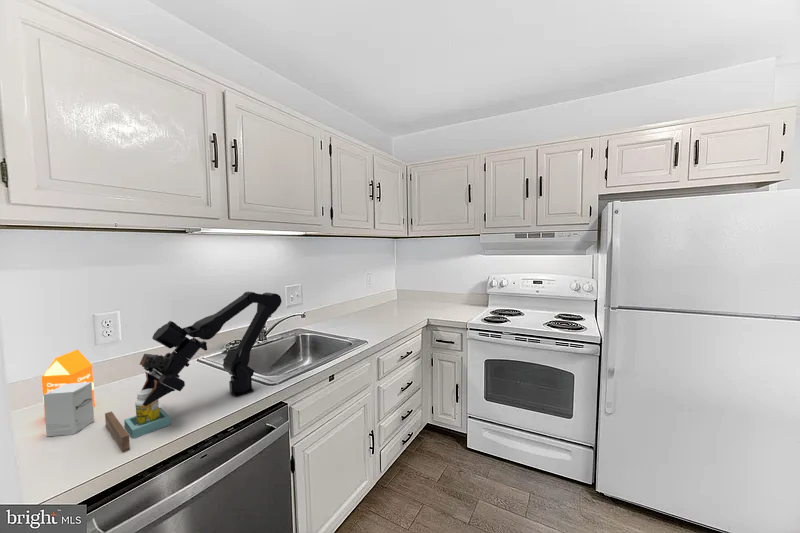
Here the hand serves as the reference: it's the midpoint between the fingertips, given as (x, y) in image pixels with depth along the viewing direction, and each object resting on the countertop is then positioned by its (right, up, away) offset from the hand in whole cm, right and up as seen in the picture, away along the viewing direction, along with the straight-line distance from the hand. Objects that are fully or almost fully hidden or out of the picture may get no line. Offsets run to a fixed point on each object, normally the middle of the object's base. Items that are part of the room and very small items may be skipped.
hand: (141, 402), depth 94 cm
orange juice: (-30, -8, +9) cm, 32 cm away
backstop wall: (-4, -8, -4) cm, 10 cm away
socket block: (+1, -8, +2) cm, 8 cm away
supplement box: (-21, -8, 0) cm, 23 cm away
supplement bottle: (+1, -7, +2) cm, 7 cm away
